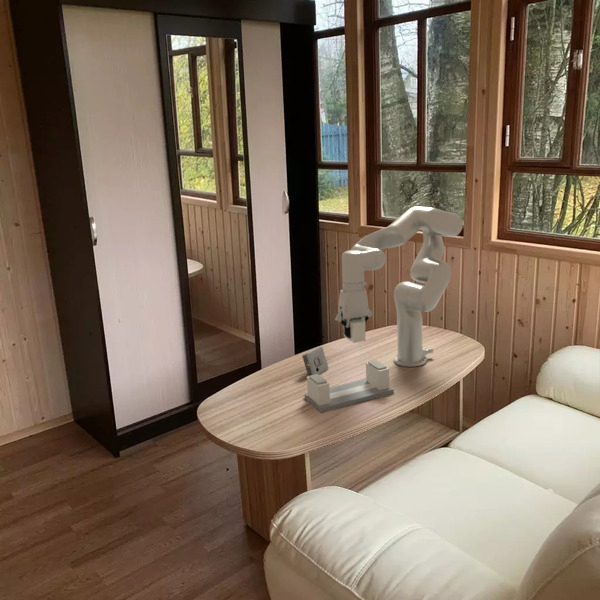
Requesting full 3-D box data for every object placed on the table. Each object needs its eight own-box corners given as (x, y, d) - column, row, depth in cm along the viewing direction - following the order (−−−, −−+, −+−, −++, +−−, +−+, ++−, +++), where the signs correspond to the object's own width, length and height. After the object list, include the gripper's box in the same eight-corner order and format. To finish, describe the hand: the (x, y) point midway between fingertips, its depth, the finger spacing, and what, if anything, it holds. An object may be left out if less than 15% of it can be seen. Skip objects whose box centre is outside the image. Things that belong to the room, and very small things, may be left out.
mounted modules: (376, 378, 217) (375, 358, 215) (389, 387, 210) (389, 367, 207) (308, 395, 207) (306, 375, 205) (319, 405, 199) (318, 384, 197)
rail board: (374, 380, 220) (374, 376, 219) (393, 393, 208) (393, 389, 208) (304, 397, 209) (304, 393, 209) (320, 412, 198) (320, 408, 197)
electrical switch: (314, 377, 226) (311, 354, 224) (303, 376, 229) (300, 352, 227) (329, 369, 233) (326, 346, 231) (318, 367, 236) (315, 345, 234)
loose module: (354, 334, 220) (354, 314, 218) (365, 340, 213) (365, 320, 211) (343, 336, 218) (343, 316, 216) (354, 342, 211) (353, 322, 209)
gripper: (369, 280, 217) (370, 329, 221) (326, 287, 211) (328, 336, 215) (380, 285, 210) (380, 335, 215) (336, 291, 204) (337, 342, 209)
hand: (354, 335), depth 215 cm, fingers closed on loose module, 4 cm apart
